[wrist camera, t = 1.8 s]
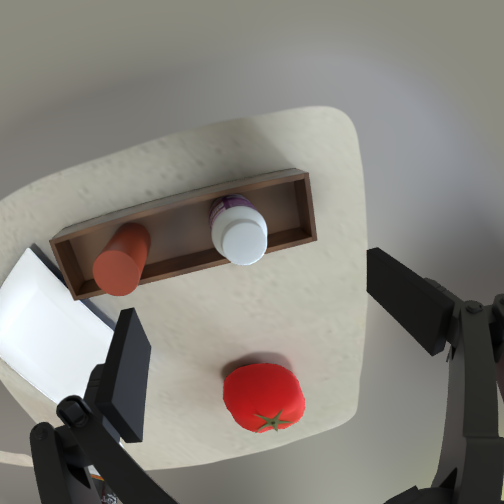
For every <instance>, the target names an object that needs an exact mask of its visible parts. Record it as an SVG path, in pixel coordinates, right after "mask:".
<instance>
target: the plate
mask: <svg viewBox="0 0 504 504" xmlns="http://www.w3.org/2000/svg"><path fill="white" fill-rule="evenodd" d="M113 334H114V331H113V330H112V329H111V328H109V327H108V326H107V325H106V324H105V323H104V322H103V321H102V320H100V319H99V318H98V317H97V316H96V315H95V314H94V313H93V312H92V311H90V310H89V309H88V308H87V307H86V306H85V305H84V304H83V303H82V302H81V301H80V300H77V301H74V300H73V298H72V295H71V293H70V291H69V289H68V288H67V287H66V286H65V285H64V284H63V283H62V282H61V281H60V280H59V279H58V278H57V277H56V276H55V275H54V274H53V273H52V272H51V271H50V270H49V269H48V268H47V267H46V266H45V264H44V263H43V262H42V261H41V260H40V259H39V258H38V257H37V256H36V254H35V253H34V252H33V251H32V250H31V249H30V248H27V249H26V251H25V252H24V253H23V255H22V256H21V258H20V259H19V261H18V262H17V263H16V265H15V266H14V268H13V269H12V271H11V272H10V274H9V276H8V277H7V279H6V280H5V282H4V283H3V285H2V287H1V288H0V357H1V358H2V359H3V360H4V361H5V362H6V363H7V364H8V365H9V366H11V367H12V368H13V369H14V370H15V371H16V372H17V373H18V374H20V375H21V376H22V377H23V378H24V379H26V380H27V381H28V382H29V383H30V384H32V385H33V386H34V387H35V388H37V389H38V390H39V391H40V392H42V393H43V394H44V395H46V396H47V397H48V398H50V399H51V400H52V401H54V402H55V403H56V404H59V403H60V401H61V400H63V399H64V398H65V397H67V396H70V395H78V396H80V397H81V398H82V399H83V397H84V394H85V390H86V388H87V383H88V382H89V377H90V374H91V371H92V370H93V369H94V367H95V366H96V365H97V364H103V363H105V360H106V357H107V353H108V350H109V347H110V343H111V340H112V337H113Z"/></svg>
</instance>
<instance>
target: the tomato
mask: <svg viewBox="0 0 504 504" xmlns="http://www.w3.org/2000/svg"><path fill="white" fill-rule="evenodd" d="M223 400H224V402H225V405H226V407H227V409H228V410H229V411H230V412H231V414H232V416H233V418H234V419H235V421H236V422H237V423H238V424H239V425H240V426H241V427H243V428H245V429H247V430H250V431H252V432H256V433H257V432H258V433H262V432H265V431H268V430H271V429H275V430H276V431H277V430H278V429H285V428H287V427H289V426H291V425H292V424H294V423H296V422H298V421H299V420H300V418H301V417H302V416H303V413H304V410H305V398H304V396H303V393H302V391H301V388H300V385H299V381H298V380H297V378H296V377H295V376H294V375H293V373H292V372H291V371H289V370H287V369H286V368H284V367H282V366H280V365H277V364H270V363H261V364H250V365H247V366H243V367H240V368H237V369H236V370H234V371H233V372H232V373H231V374H229V375H228V376H227V377H226V379H225V380H224V386H223Z"/></svg>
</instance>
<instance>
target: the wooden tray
mask: <svg viewBox="0 0 504 504" xmlns="http://www.w3.org/2000/svg"><path fill="white" fill-rule="evenodd" d="M230 194H238V195H241V196H243V197H245V198H246V199H247V200H249V201H250V203H251V204H252V205H253V206H254V207H255V208H256V210H257V211H258V212H259V213H260V214H261V216H262V217H263V218H264V220H265V223H266V226H267V248H266V251H265V253H264V254H266V253H270V252H274V251H278V250H282V249H286V248H290V247H294V246H298V245H302V244H306V243H310V242H312V241H317V233H316V225H315V216H314V208H313V201H312V193H311V186H310V179H309V173H308V172H305V171H302V170H299V169H296V168H293V169H287V170H282V171H277V172H272V173H267V174H262V175H258V176H253V177H248V178H243V179H239V180H234V181H230V182H226V183H221V184H217V185H213V186H209V187H205V188H200V189H196V190H192V191H188V192H185V193H181V194H177V195H173V196H169V197H166V198H162V199H158V200H155V201H151V202H147V203H144V204H140V205H137V206H133V207H130V208H127V209H123V210H120V211H117V212H113V213H110V214H107V215H104V216H100V217H97V218H94V219H91V220H88V221H85V222H82V223H79V224H76V225H73V226H70V227H67V228H64V229H62V230H61V231H60V232H59V233H58V234H56V235H55V236H54V237H53V238H52V239H50V240H49V242H50V245H51V248H52V250H53V253H54V255H55V258H56V261H57V263H58V265H59V268H60V270H61V273H62V275H63V277H64V280H65V282H66V284H67V287H68V289H69V291H70V293H71V295H72V298H73V300H74V301H77V300H81V299H85V298H89V297H94V296H98V295H102V294H106V292H104V291H103V290H102V289H101V288H100V287H99V286H98V285H97V283H96V282H95V279H94V276H93V264H94V262H95V260H96V258H97V257H98V255H99V254H100V253H101V251H102V250H103V248H104V247H105V246H106V244H107V243H108V242H109V240H110V239H111V237H112V236H113V235H114V233H115V232H116V231H117V229H118V228H119V227H120V226H122V225H123V224H126V223H137V224H140V225H142V226H143V227H144V228H145V229H146V230H147V231H148V233H149V235H150V237H151V247H150V250H149V253H148V256H147V259H146V262H145V265H144V268H143V271H142V274H141V277H140V280H139V283H138V285H142V284H146V283H150V282H154V281H159V280H163V279H167V278H171V277H175V276H179V275H183V274H187V273H191V272H195V271H199V270H203V269H207V268H211V267H215V266H219V265H223V264H227V263H231V261H229V260H228V259H227V258H226V257H224V256H223V255H221V254H220V253H219V252H218V251H217V249H216V248H215V246H214V244H213V241H212V237H211V231H210V226H209V211H210V209H211V207H212V205H213V203H214V202H215V201H216V200H217V199H219V198H220V197H222V196H226V195H230ZM138 285H137V286H138Z"/></svg>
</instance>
